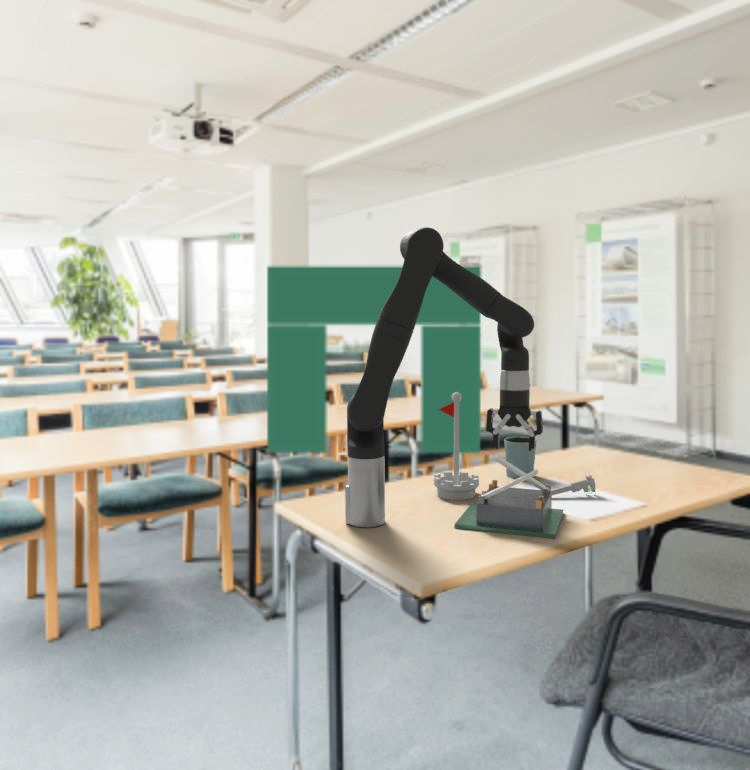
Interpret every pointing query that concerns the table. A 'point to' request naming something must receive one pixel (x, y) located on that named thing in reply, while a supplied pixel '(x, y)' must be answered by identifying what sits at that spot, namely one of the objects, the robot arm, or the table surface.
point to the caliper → (576, 486)
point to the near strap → (510, 484)
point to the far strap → (520, 473)
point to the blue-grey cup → (519, 455)
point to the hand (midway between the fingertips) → (513, 449)
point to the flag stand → (455, 464)
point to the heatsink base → (472, 524)
